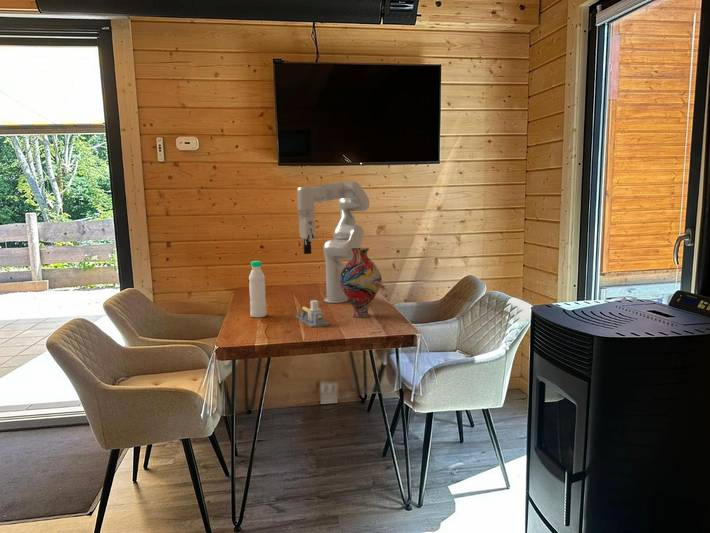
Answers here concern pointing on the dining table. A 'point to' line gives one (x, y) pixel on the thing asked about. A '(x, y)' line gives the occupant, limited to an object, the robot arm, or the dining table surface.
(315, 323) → the gray rack
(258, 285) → the water bottle
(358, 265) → the vase
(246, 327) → the dining table surface
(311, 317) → the small white bottle
